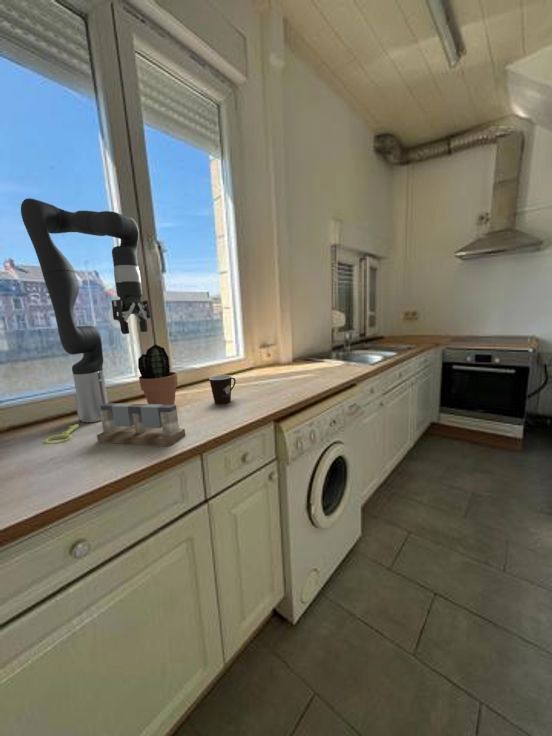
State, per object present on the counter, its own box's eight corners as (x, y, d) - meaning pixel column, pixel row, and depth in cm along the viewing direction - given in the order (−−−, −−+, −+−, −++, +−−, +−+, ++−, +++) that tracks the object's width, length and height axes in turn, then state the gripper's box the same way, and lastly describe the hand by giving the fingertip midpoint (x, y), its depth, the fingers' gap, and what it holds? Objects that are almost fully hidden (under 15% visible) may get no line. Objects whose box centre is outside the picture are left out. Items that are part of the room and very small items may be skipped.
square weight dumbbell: (103, 425, 93) (100, 405, 92) (110, 422, 96) (107, 403, 95) (172, 428, 87) (170, 407, 86) (178, 425, 89) (175, 404, 88)
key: (80, 429, 105) (78, 423, 104) (70, 442, 93) (69, 436, 93) (54, 433, 102) (53, 427, 102) (41, 447, 91) (40, 440, 90)
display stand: (97, 441, 91) (92, 412, 90) (118, 431, 99) (114, 404, 97) (169, 446, 85) (165, 415, 83) (185, 435, 92) (181, 406, 91)
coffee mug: (215, 406, 120) (212, 381, 118) (209, 401, 127) (206, 377, 126) (243, 401, 125) (241, 376, 123) (236, 396, 133) (234, 373, 131)
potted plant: (180, 401, 130) (173, 341, 126) (181, 410, 118) (173, 343, 113) (144, 406, 126) (136, 344, 122) (141, 416, 114) (132, 347, 109)
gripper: (134, 284, 107) (140, 331, 110) (100, 280, 94) (108, 335, 97) (152, 282, 105) (158, 330, 108) (121, 278, 92) (129, 334, 95)
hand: (135, 332), depth 102 cm, fingers open, 8 cm apart
